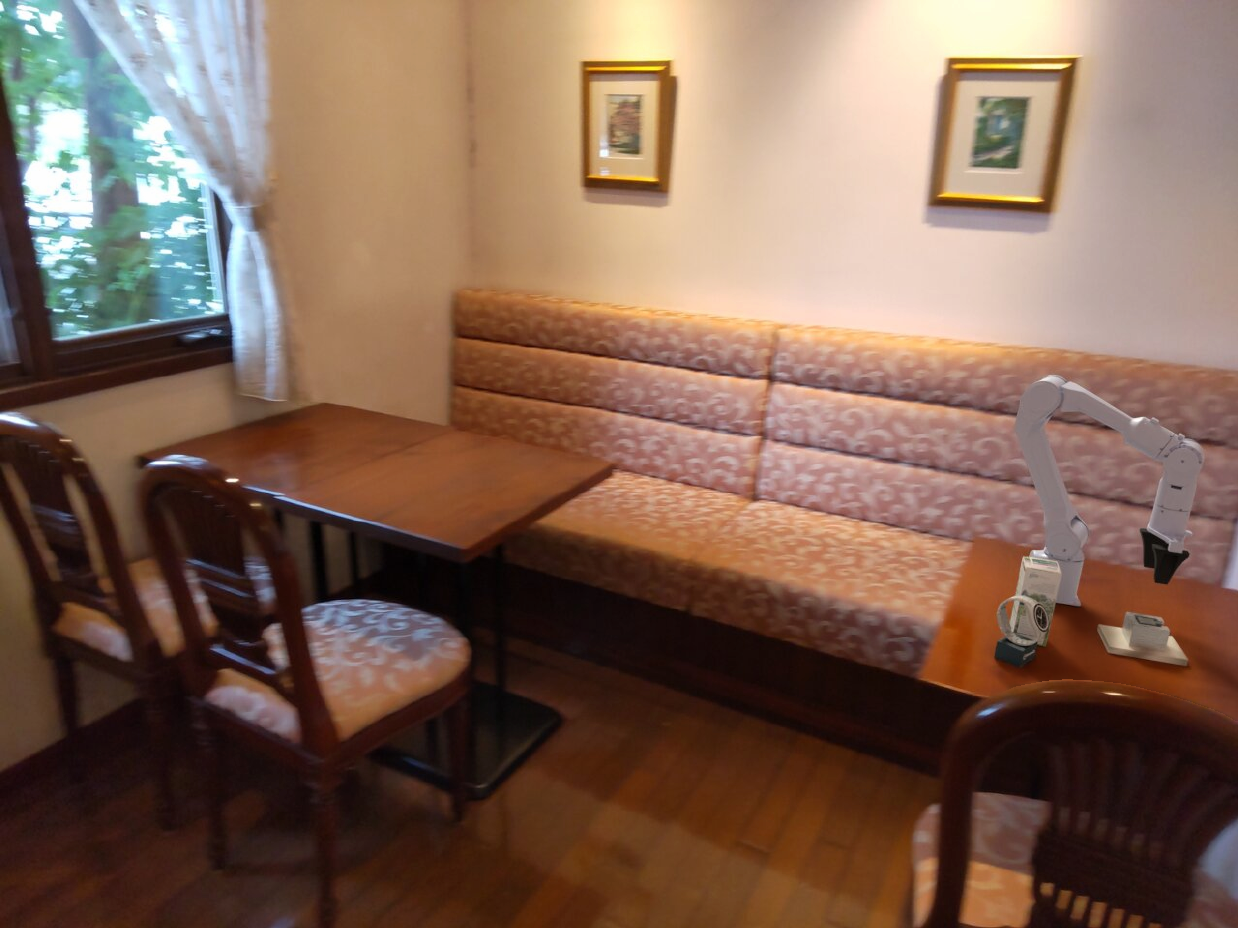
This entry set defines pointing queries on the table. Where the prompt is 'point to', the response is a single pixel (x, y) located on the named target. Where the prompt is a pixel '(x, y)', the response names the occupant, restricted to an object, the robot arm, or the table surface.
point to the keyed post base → (1119, 646)
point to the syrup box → (1035, 593)
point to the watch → (1017, 646)
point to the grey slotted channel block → (1145, 632)
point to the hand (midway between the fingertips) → (1155, 575)
